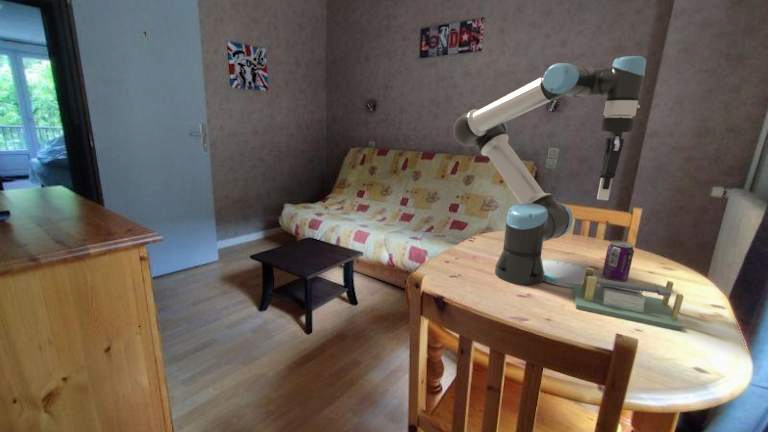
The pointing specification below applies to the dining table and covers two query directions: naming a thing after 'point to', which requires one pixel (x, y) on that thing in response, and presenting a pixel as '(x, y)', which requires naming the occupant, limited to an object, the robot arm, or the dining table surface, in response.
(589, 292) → the posts
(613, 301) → the block
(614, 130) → the robot arm
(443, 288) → the dining table surface
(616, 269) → the beverage can
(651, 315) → the socket board
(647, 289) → the strap
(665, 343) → the dining table surface
